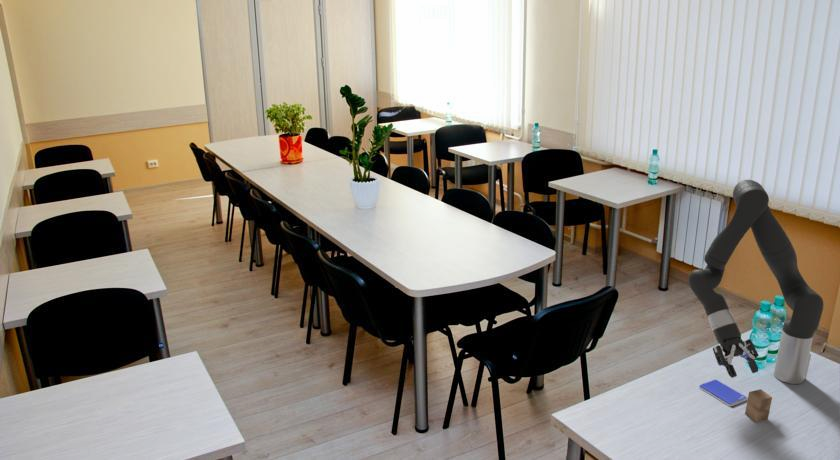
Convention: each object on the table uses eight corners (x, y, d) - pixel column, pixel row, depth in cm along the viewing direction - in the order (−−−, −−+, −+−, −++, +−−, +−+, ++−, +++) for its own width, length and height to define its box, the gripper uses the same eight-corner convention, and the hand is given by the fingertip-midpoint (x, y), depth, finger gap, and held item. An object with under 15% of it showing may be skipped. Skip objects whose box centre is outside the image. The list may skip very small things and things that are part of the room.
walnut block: (756, 411, 218) (760, 389, 215) (767, 419, 214) (772, 397, 211) (744, 413, 217) (749, 392, 214) (756, 422, 213) (760, 399, 210)
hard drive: (747, 397, 224) (716, 378, 234) (730, 403, 220) (699, 385, 230) (747, 401, 224) (715, 382, 234) (730, 408, 220) (698, 389, 231)
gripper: (713, 325, 218) (734, 375, 212) (748, 319, 223) (770, 367, 217) (699, 333, 225) (719, 381, 219) (734, 326, 229) (754, 373, 223)
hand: (745, 374), depth 218 cm, fingers open, 8 cm apart
